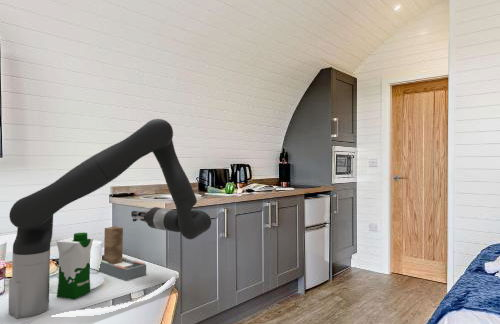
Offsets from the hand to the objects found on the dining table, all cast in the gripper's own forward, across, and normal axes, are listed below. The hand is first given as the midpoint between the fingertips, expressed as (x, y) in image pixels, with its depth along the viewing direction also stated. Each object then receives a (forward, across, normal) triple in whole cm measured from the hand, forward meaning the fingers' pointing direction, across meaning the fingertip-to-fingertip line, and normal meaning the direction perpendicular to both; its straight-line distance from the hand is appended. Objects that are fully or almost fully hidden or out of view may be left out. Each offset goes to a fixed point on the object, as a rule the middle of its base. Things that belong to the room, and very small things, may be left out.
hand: (133, 213), depth 134 cm
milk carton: (-2, +22, +25) cm, 33 cm away
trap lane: (+10, 0, +24) cm, 26 cm away
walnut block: (+13, 0, +21) cm, 25 cm away
